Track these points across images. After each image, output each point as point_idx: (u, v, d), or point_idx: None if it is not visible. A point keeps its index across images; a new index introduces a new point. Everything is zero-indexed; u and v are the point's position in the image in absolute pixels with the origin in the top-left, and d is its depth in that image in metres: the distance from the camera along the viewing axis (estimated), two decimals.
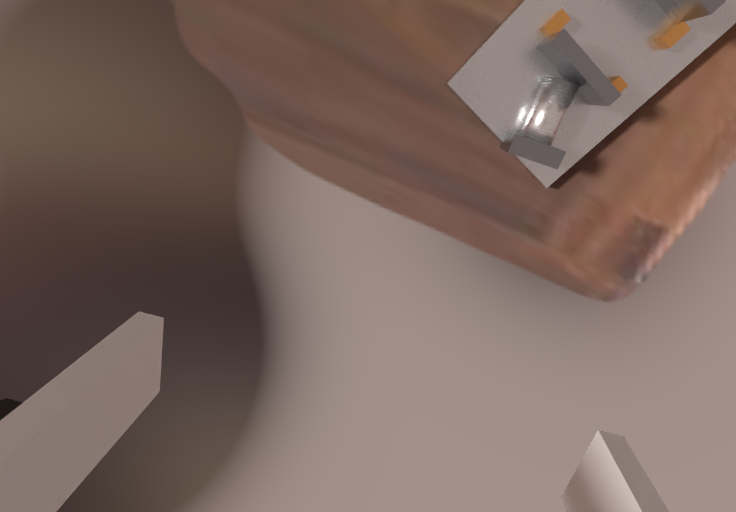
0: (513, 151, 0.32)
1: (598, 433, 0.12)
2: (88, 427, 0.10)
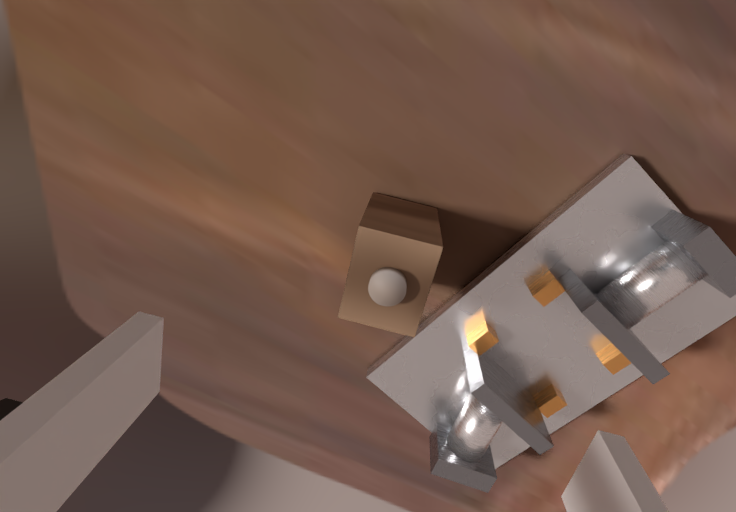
0: (436, 473, 0.28)
1: (598, 433, 0.12)
2: (88, 427, 0.10)
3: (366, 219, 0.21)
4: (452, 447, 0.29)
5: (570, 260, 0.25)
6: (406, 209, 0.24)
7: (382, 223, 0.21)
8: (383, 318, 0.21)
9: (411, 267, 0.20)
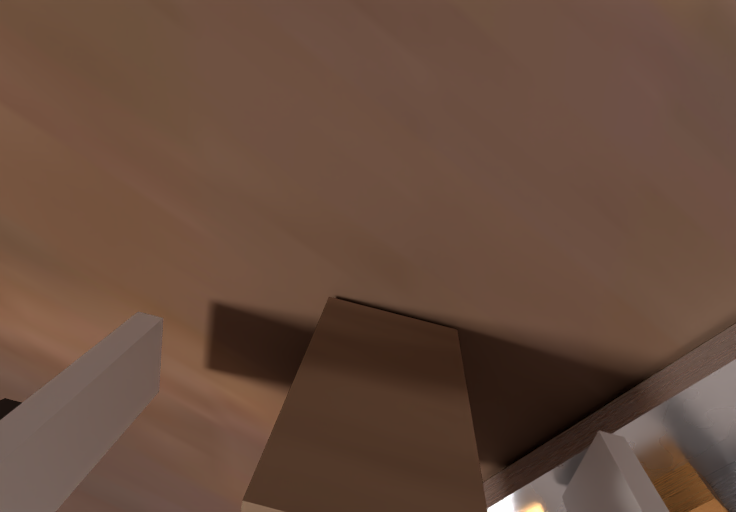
0: None
1: (599, 434, 0.12)
2: (87, 427, 0.10)
3: (282, 441, 0.08)
4: None
5: None
6: (394, 353, 0.11)
7: (325, 452, 0.08)
8: None
9: None
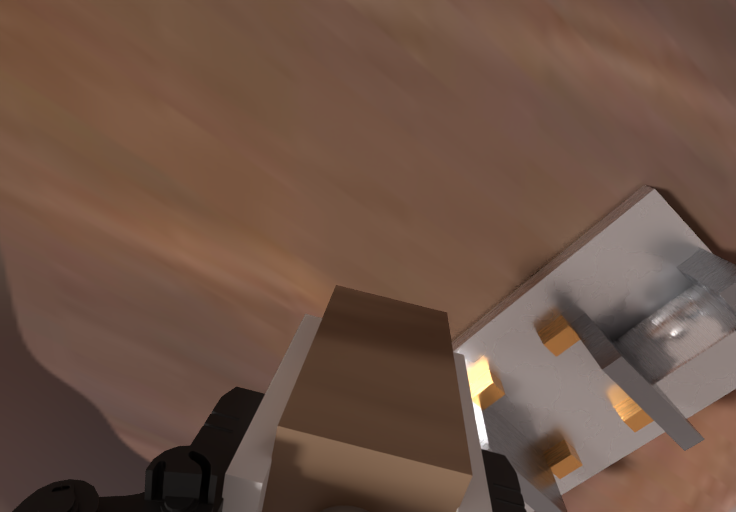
0: None
1: None
2: None
3: (304, 388, 0.10)
4: None
5: (585, 303, 0.23)
6: (392, 329, 0.13)
7: (338, 397, 0.10)
8: None
9: (399, 509, 0.09)
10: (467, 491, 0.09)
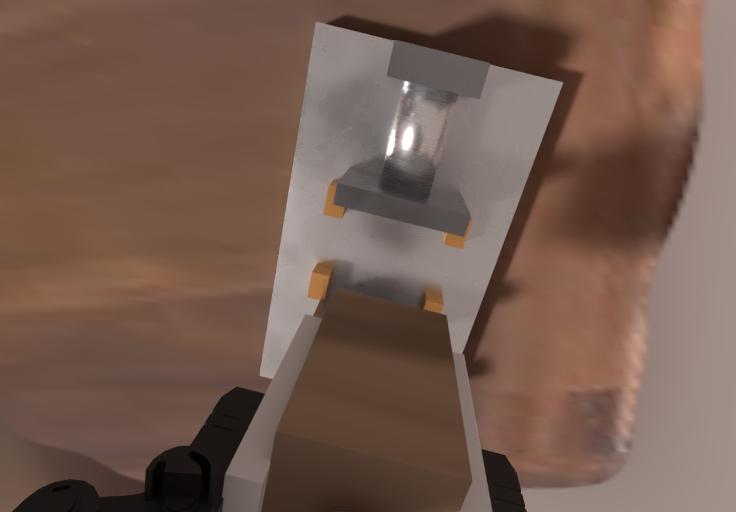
0: None
1: None
2: None
3: (302, 392, 0.10)
4: None
5: (343, 158, 0.23)
6: (392, 331, 0.13)
7: (337, 401, 0.10)
8: None
9: None
10: None
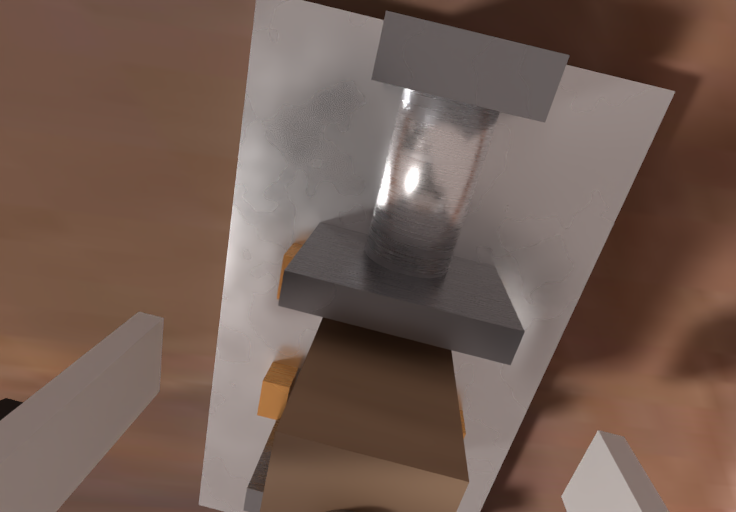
0: None
1: (598, 433, 0.12)
2: (88, 427, 0.10)
3: (302, 392, 0.10)
4: None
5: (309, 209, 0.14)
6: None
7: (336, 401, 0.10)
8: None
9: None
10: None
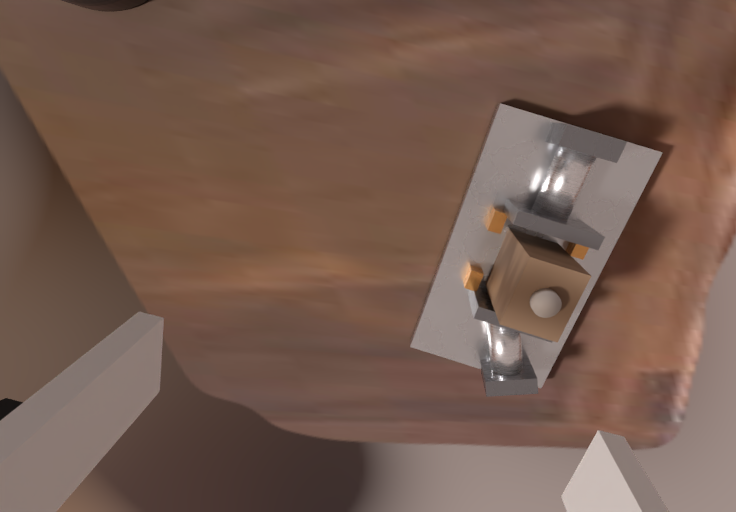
0: (490, 394, 0.35)
1: (598, 433, 0.12)
2: (88, 427, 0.10)
3: (528, 251, 0.28)
4: (495, 370, 0.35)
5: (503, 192, 0.33)
6: (542, 244, 0.32)
7: (540, 255, 0.28)
8: (535, 326, 0.28)
9: (564, 289, 0.27)
10: None
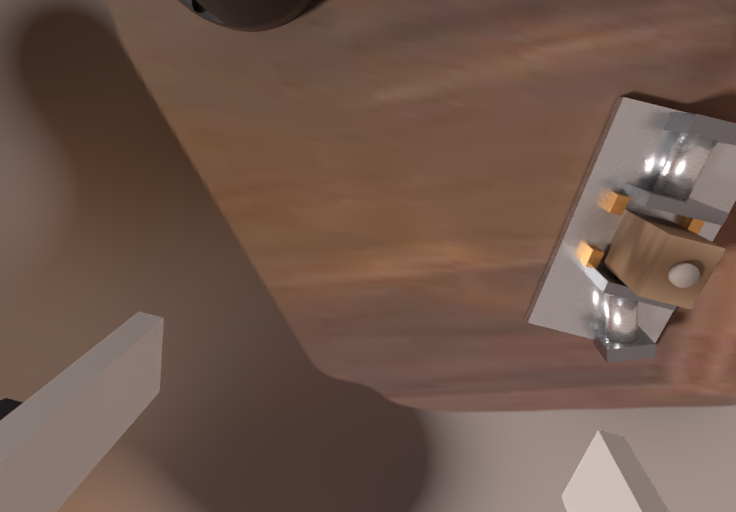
0: (611, 360, 0.39)
1: (598, 433, 0.12)
2: (88, 427, 0.10)
3: (664, 230, 0.32)
4: (612, 339, 0.39)
5: (622, 177, 0.36)
6: (663, 222, 0.35)
7: (674, 232, 0.32)
8: (671, 296, 0.32)
9: (700, 262, 0.31)
10: None
